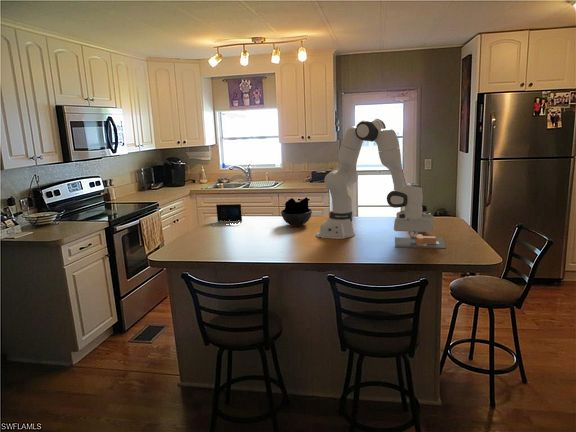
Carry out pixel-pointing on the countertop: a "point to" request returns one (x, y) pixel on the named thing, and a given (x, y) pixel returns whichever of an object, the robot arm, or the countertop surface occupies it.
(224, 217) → the laptop
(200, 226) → the countertop surface
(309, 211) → the coal bowl
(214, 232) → the countertop surface
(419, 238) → the t block
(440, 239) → the t mat
